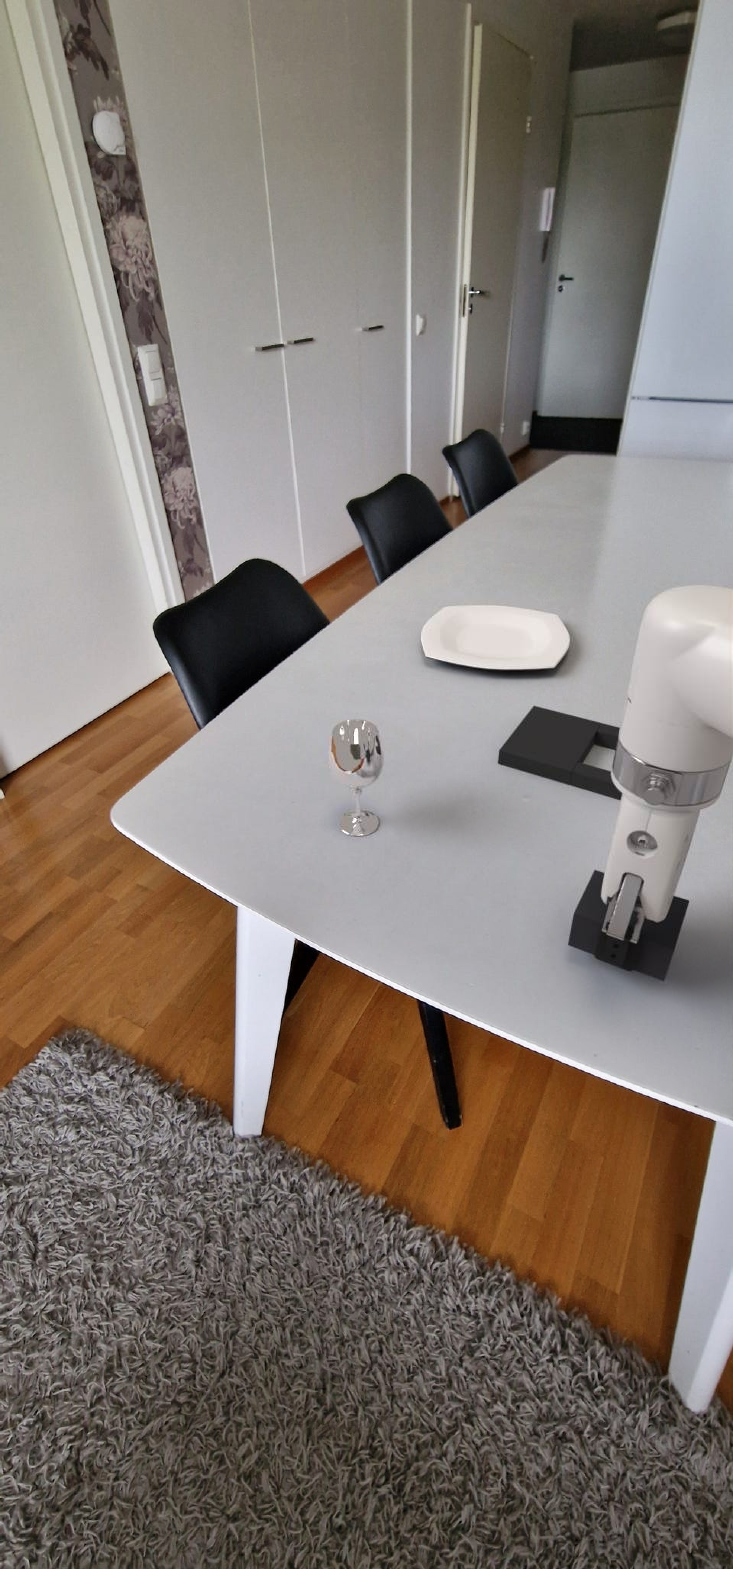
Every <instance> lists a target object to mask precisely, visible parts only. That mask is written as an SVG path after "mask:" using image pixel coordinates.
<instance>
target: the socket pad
mask: <svg viewBox="0 0 733 1569" xmlns="http://www.w3.org/2000/svg"><path fill="white" fill-rule="evenodd" d="M619 730H620V726H616V725H612V724H607V723H603V722H599V721H596V720H591V719H588V718H585V717H580V716H576V715H573V714H568V713H564V712H560V711H556V710H553V709H549V708H545V707H541V706H536V705H533V706H532V707H531V709H530V710H529V711H528V712H527V714H526V715H525V717H524V718H522V720H521V722H519V724H518V725H517V726H516V728H515V729H514V730H513V731H512V733H511V735H510V736H509V737H508V738H507V740H506V741H505V742H504V743H503V744H502V746H501V747H500V748H499V750H498V757H497V764H498V765H502V766H505V767H509V768H512V769H514V770H517V771H522V772H525V773H527V774H532V775H535V776H538V777H542V778H545V779H549V780H552V781H555V782H558V783H562V784H566V785H569V786H572V787H575V788H578V789H582V790H586V791H589V792H592V793H595V794H599V795H603V796H606V797H609V798H613V799H616V800H619V801H621V797H622V792H620V791H619V790H618V789H617V787H616V786H615V785H614V783H613V781H612V778H611V770H608V769H605V768H601V767H597V766H593V765H591V764H586V763H584V761H585V760H586V758H587V756H588V755H589V753H590V752H591V750H592V748H593V747H594V746H595V745H596V746H600V747H603V748H606V749H611V750H614V751H615V750H616V745H617V740H618V735H619Z"/></svg>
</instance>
